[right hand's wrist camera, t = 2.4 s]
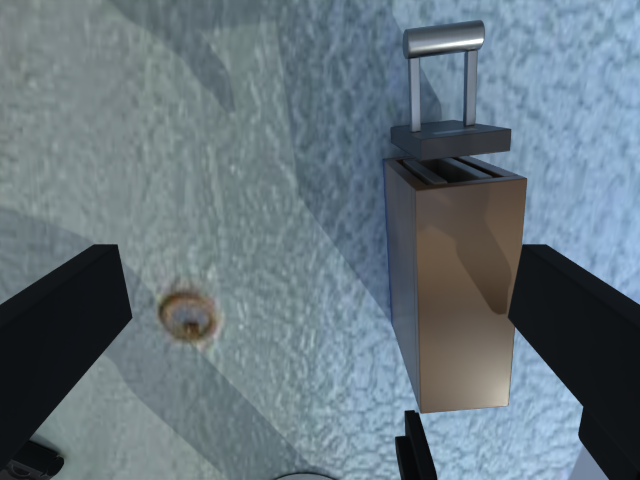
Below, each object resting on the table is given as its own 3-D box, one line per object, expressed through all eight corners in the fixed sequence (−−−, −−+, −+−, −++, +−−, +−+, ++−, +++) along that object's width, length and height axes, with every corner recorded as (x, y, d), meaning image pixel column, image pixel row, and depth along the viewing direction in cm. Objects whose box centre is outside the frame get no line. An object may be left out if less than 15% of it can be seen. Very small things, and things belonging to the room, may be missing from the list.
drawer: (386, 42, 27) (418, 15, 19) (454, 33, 27) (520, 2, 18) (398, 294, 35) (424, 360, 26) (451, 288, 35) (497, 354, 26)
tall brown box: (382, 159, 31) (414, 190, 21) (457, 150, 31) (528, 177, 20) (391, 323, 37) (420, 414, 26) (454, 317, 37) (509, 406, 26)
